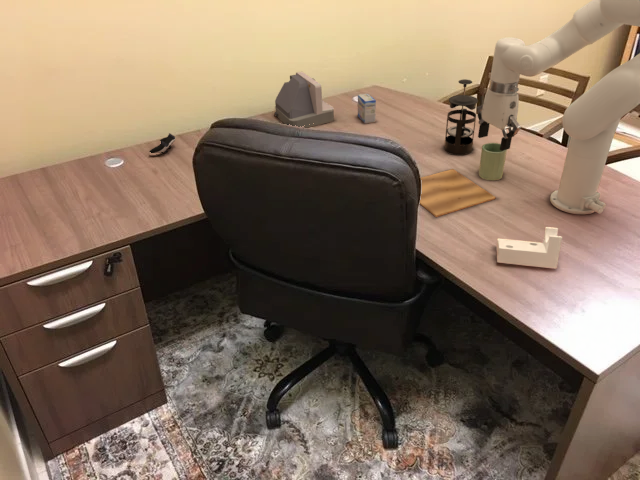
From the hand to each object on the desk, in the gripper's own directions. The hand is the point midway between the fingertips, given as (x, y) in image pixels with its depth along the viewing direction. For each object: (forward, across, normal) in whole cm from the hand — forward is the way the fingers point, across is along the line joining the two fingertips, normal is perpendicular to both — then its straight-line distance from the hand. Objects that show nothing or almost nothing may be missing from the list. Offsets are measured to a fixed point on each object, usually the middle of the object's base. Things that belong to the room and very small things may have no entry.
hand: (493, 143), depth 156 cm
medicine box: (+12, +57, +11) cm, 59 cm away
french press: (+11, +19, -3) cm, 22 cm away
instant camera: (+12, +71, +31) cm, 79 cm away
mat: (+10, -3, +18) cm, 21 cm away
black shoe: (+13, +69, +85) cm, 110 cm away
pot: (+10, -1, 0) cm, 10 cm away
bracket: (+10, -38, +20) cm, 44 cm away
